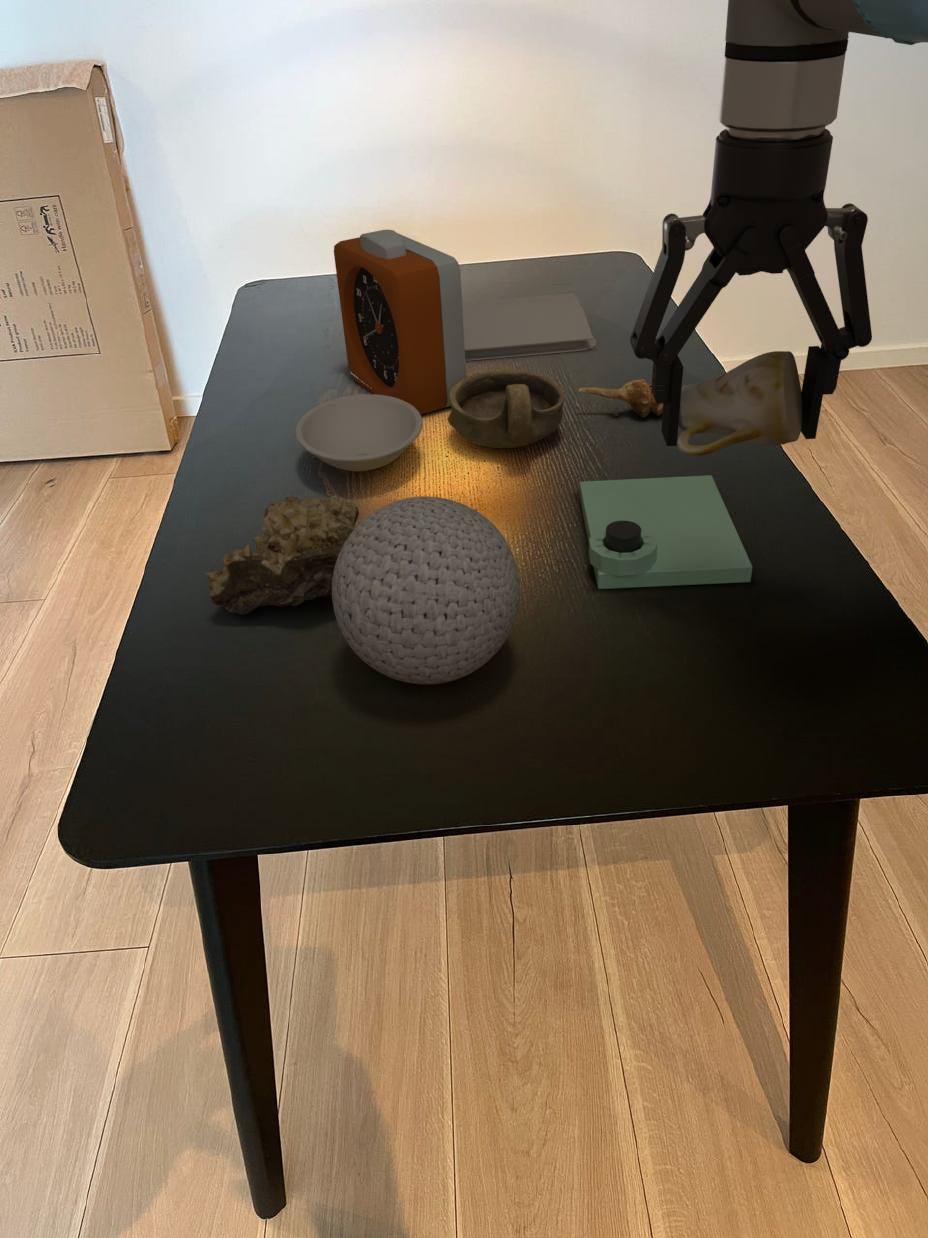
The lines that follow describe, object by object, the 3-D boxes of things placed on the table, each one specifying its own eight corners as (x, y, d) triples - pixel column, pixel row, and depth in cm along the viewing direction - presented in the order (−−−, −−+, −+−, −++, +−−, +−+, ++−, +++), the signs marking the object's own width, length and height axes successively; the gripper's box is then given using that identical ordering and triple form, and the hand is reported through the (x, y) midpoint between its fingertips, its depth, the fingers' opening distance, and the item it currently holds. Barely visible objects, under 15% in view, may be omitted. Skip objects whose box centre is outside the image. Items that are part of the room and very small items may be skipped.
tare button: (642, 553, 89) (643, 537, 88) (607, 555, 89) (608, 538, 88) (637, 535, 91) (638, 519, 90) (603, 537, 91) (603, 521, 90)
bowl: (553, 410, 123) (553, 332, 117) (581, 473, 109) (582, 388, 103) (444, 420, 122) (439, 342, 116) (458, 485, 108) (452, 400, 102)
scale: (752, 585, 89) (756, 553, 87) (592, 593, 90) (593, 560, 87) (710, 489, 104) (713, 459, 102) (573, 495, 105) (574, 466, 103)
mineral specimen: (259, 543, 100) (241, 455, 94) (382, 547, 98) (371, 457, 92) (210, 627, 88) (186, 533, 83) (348, 633, 87) (334, 537, 81)
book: (432, 327, 150) (430, 301, 148) (579, 314, 151) (580, 288, 149) (440, 363, 138) (438, 336, 135) (600, 349, 139) (601, 321, 136)
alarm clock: (347, 377, 135) (327, 222, 123) (403, 363, 139) (389, 210, 127) (410, 422, 122) (394, 253, 110) (470, 405, 125) (461, 239, 113)
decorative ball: (548, 632, 85) (547, 479, 76) (477, 743, 74) (467, 579, 65) (396, 598, 90) (379, 451, 82) (310, 697, 80) (280, 540, 71)
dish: (435, 491, 107) (432, 449, 104) (304, 508, 106) (297, 466, 103) (415, 425, 121) (412, 387, 118) (299, 439, 120) (293, 401, 117)
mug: (671, 413, 83) (743, 310, 77) (764, 482, 81) (845, 381, 76) (644, 427, 76) (720, 316, 71) (744, 502, 75) (831, 394, 69)
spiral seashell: (680, 401, 123) (683, 367, 121) (696, 416, 119) (698, 381, 116) (576, 414, 122) (576, 380, 119) (588, 430, 117) (588, 394, 115)
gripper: (925, 108, 67) (864, 408, 80) (596, 127, 68) (589, 422, 81) (972, 127, 61) (898, 448, 74) (610, 149, 62) (600, 463, 75)
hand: (737, 435), depth 78 cm, fingers closed on mug, 10 cm apart
